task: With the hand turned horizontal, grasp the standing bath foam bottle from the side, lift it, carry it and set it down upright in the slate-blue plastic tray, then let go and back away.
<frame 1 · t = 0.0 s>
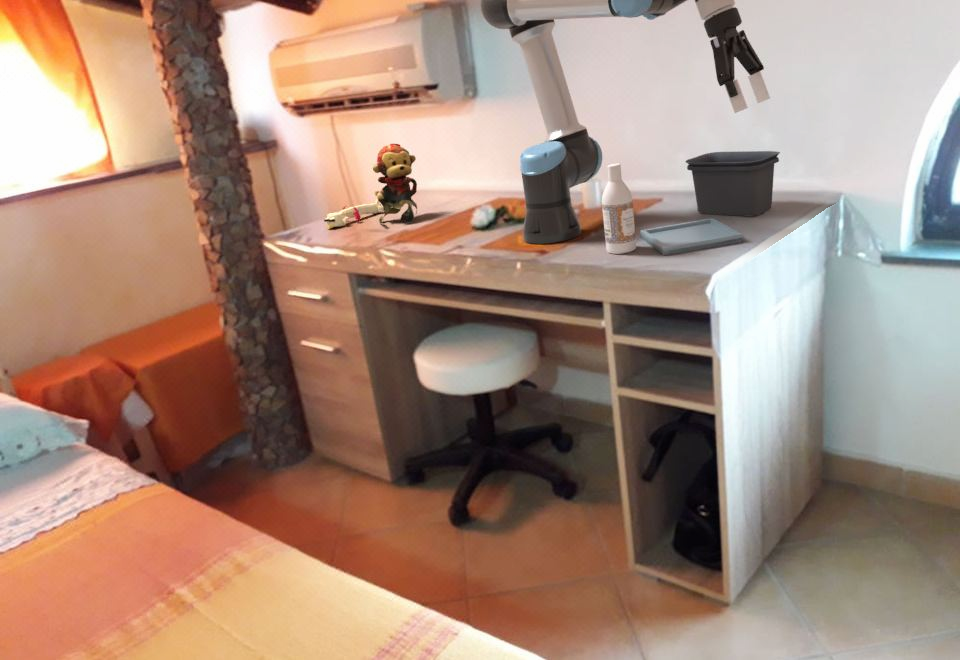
hand: (753, 105, 174), 28 cm above the table, tool tilted 20°, fingers open, 13 cm apart
bath foam: (621, 251, 182), on the table
tray: (689, 239, 182), on the table
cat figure: (357, 221, 265), on the table
stuffed monkey: (401, 221, 252), on the table
storage bin: (735, 211, 201), on the table
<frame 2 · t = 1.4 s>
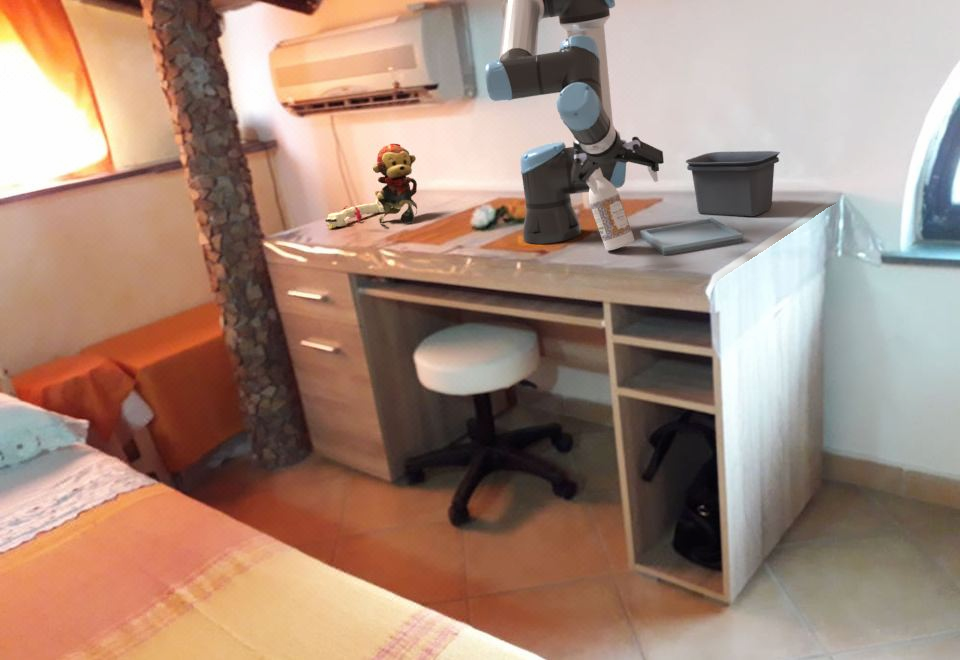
hand: (625, 182, 175), 16 cm above the table, tool tilted 55°, fingers open, 13 cm apart
bath foam: (620, 246, 182), point 1 cm above the table
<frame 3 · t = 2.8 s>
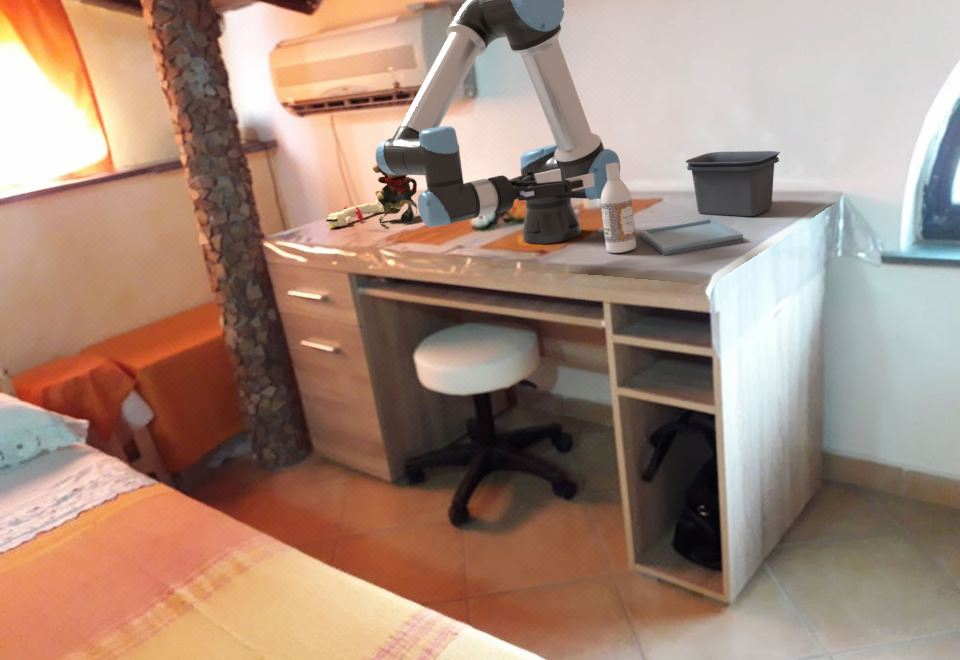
hand: (576, 177, 172), 19 cm above the table, tool horizontal, fingers open, 13 cm apart
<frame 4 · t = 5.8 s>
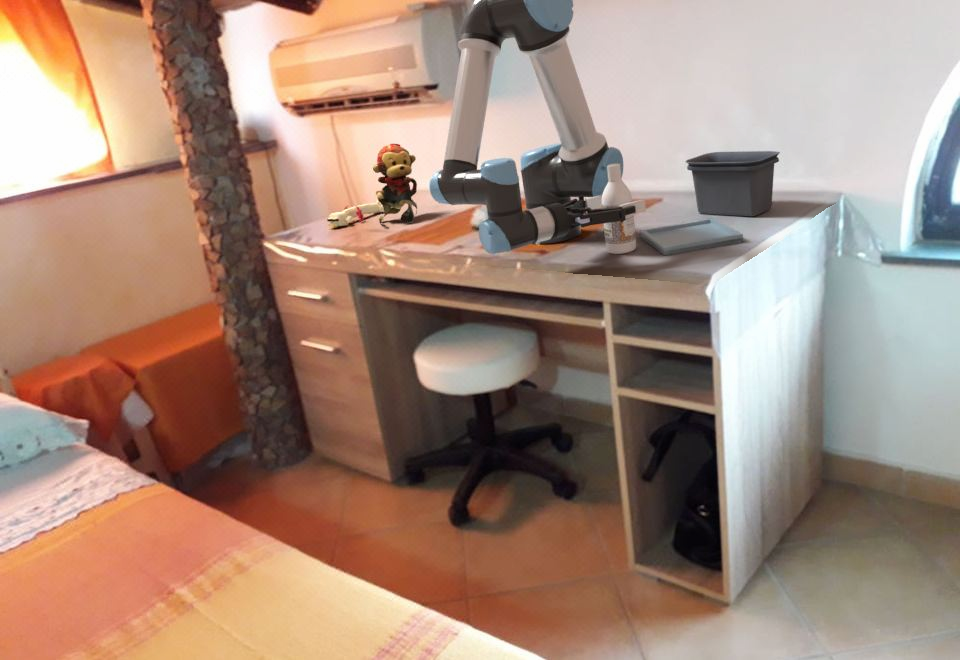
hand: (626, 201, 179), 11 cm above the table, tool horizontal, fingers open, 13 cm apart
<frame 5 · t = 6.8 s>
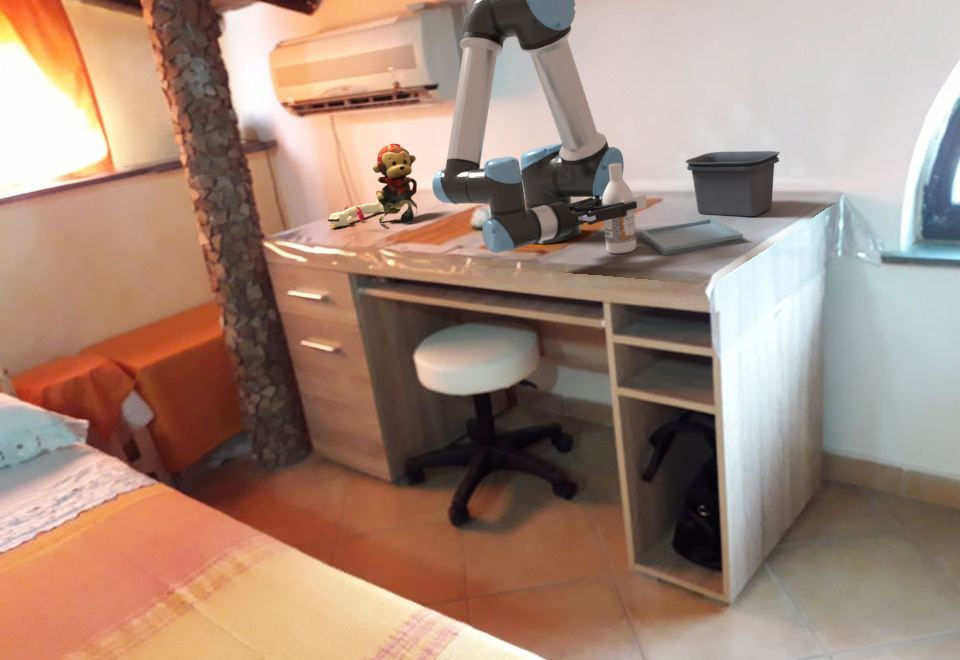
hand: (635, 199, 180), 11 cm above the table, tool horizontal, fingers closed on bath foam, 7 cm apart
bath foam: (621, 250, 182), on the table, touching gripper
everything else where it was.
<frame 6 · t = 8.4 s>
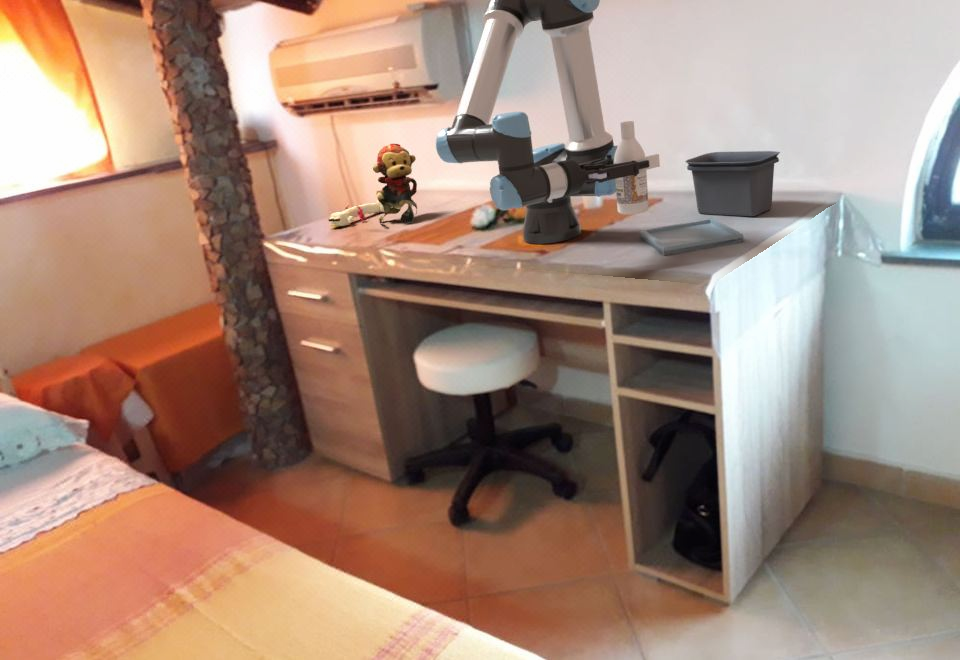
hand: (647, 159, 176), 20 cm above the table, tool horizontal, fingers closed on bath foam, 7 cm apart
bath foam: (633, 212, 178), point 9 cm above the table, touching gripper
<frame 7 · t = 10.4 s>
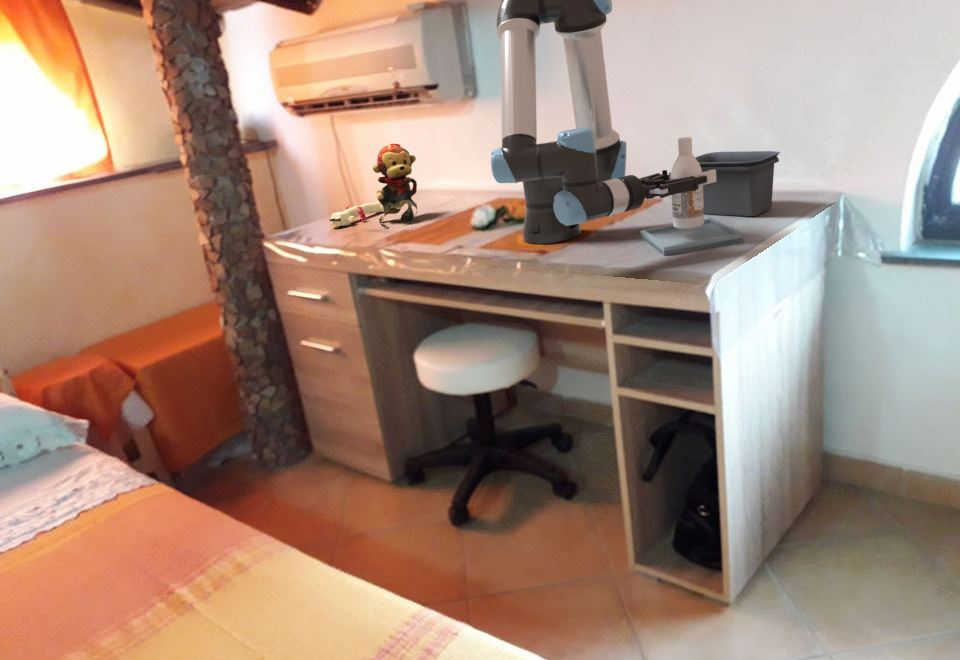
hand: (703, 174, 179), 14 cm above the table, tool horizontal, fingers closed on bath foam, 7 cm apart
bath foam: (688, 226, 181), point 3 cm above the table, touching gripper
when the fingers open (13 cm above the table, at t = 11.1 s): bath foam drops 1 cm, resting on tray.
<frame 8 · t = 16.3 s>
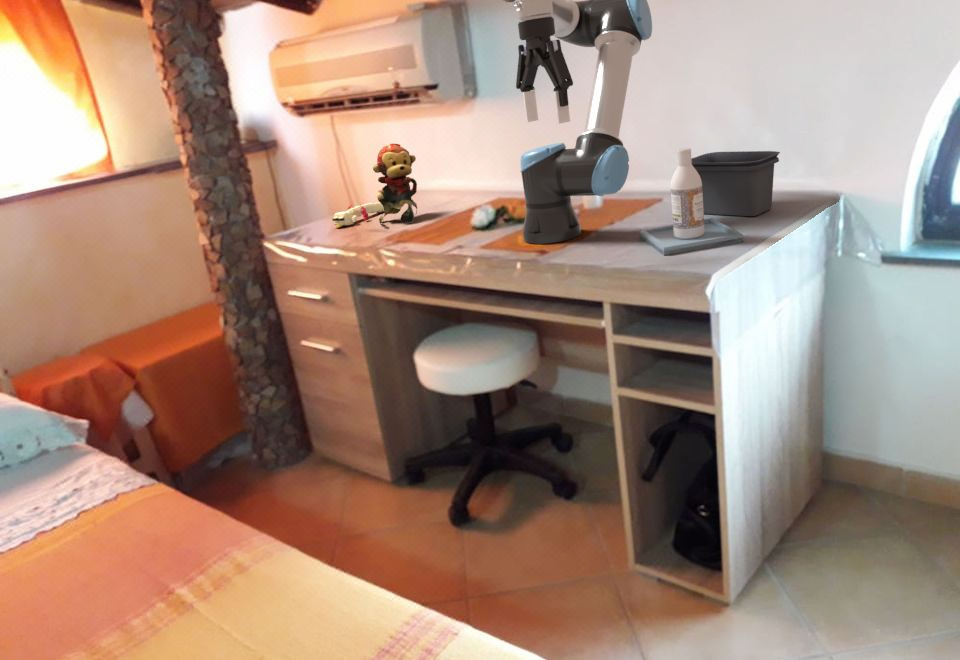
hand: (547, 122, 170), 32 cm above the table, tool pointing down, fingers open, 13 cm apart
bath foam: (689, 236, 182), point 1 cm above the table, touching tray
at the end: bath foam inside the target area on the tray (0.1 cm from its centre), point 0.8 cm above the tray's base; bath foam tilted 0°; the gripper is holding nothing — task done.
